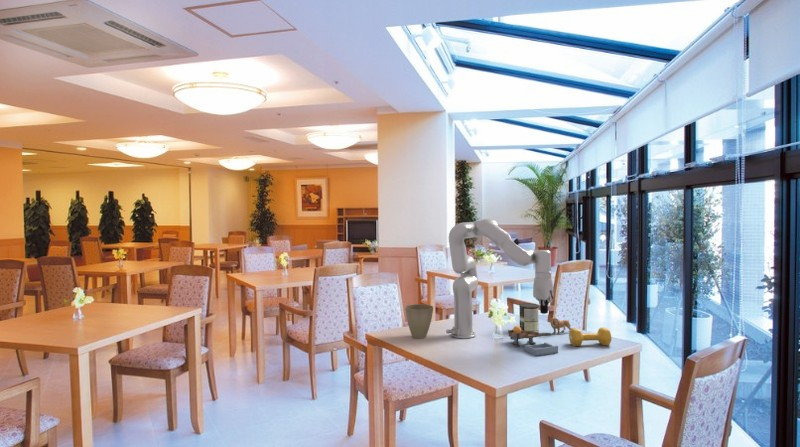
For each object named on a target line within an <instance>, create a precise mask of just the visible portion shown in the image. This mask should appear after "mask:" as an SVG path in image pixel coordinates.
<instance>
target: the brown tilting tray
mask: <svg viewBox="0 0 800 447" xmlns="http://www.w3.org/2000/svg"><path fill="white" fill-rule="evenodd" d="M507 332H508V337H509V339H510V340H512V341H514V334H517V335H518V340H523V339H529V338H533V339H534V338H540V337H548V336H552V333H551V332H539V331H538V332H531V331H521V333H517V332H514V331H513V329H508V330H507Z"/></svg>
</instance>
